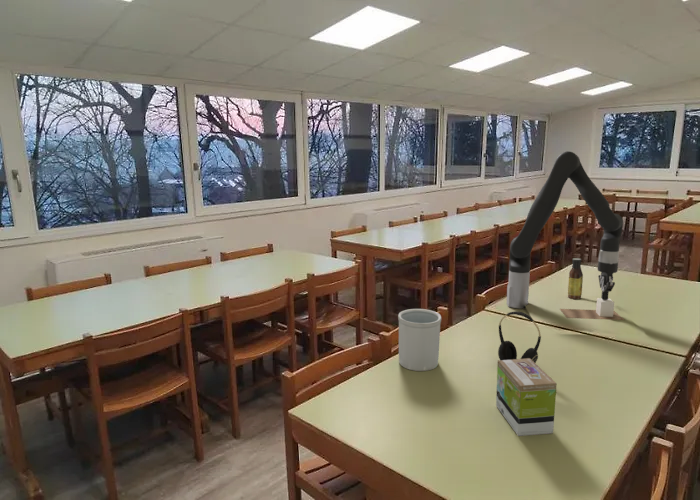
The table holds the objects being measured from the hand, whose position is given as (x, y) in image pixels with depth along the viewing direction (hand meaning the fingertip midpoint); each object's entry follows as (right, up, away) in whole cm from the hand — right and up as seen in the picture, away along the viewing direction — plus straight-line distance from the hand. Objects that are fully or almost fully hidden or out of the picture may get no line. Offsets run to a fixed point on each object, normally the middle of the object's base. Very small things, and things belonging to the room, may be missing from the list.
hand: (604, 299), depth 200 cm
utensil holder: (-87, -18, -38) cm, 97 cm away
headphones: (-54, -19, -44) cm, 72 cm away
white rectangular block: (+1, -7, +1) cm, 7 cm away
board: (-5, -8, +2) cm, 10 cm away
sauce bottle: (+1, -3, +30) cm, 30 cm away
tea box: (-64, -25, -74) cm, 101 cm away
